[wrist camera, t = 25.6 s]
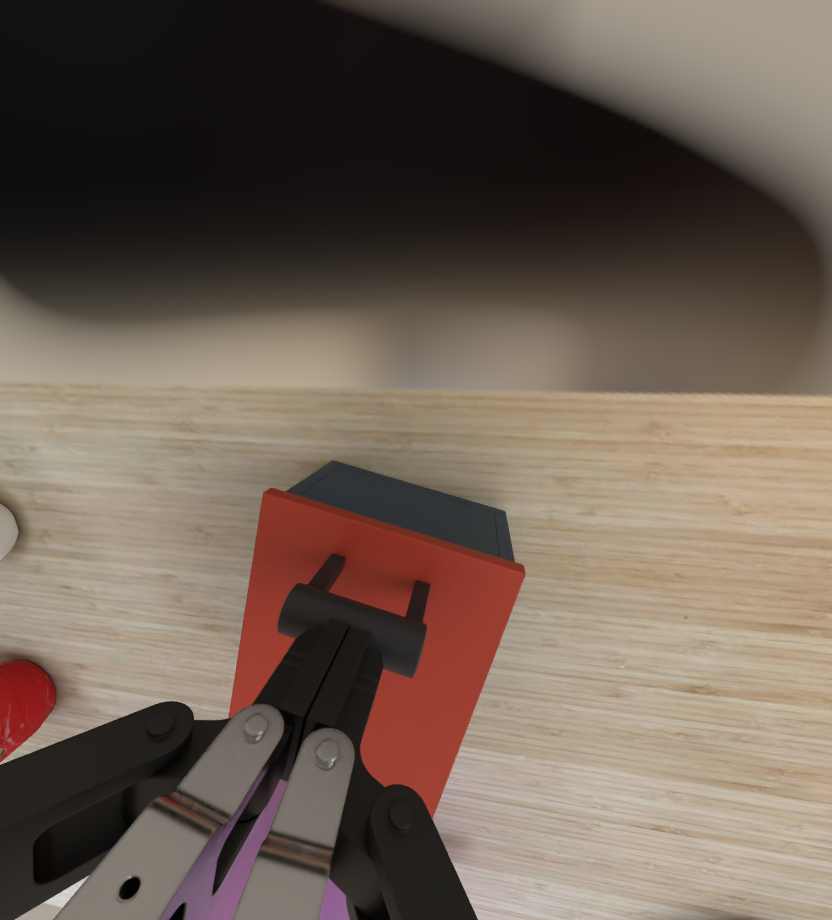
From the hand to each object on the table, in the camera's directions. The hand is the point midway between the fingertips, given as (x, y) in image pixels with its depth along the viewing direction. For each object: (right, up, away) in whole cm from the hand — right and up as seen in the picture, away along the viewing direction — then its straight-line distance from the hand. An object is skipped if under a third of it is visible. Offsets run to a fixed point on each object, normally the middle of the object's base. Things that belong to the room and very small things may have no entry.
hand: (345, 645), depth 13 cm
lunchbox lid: (-1, -4, +7) cm, 8 cm away
